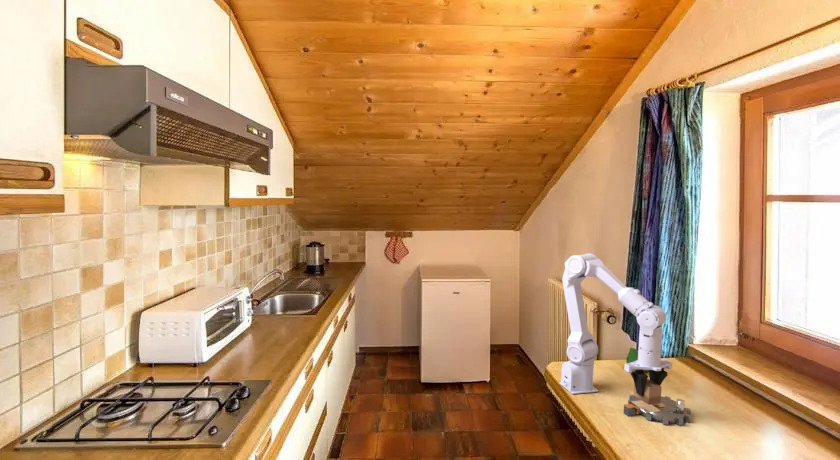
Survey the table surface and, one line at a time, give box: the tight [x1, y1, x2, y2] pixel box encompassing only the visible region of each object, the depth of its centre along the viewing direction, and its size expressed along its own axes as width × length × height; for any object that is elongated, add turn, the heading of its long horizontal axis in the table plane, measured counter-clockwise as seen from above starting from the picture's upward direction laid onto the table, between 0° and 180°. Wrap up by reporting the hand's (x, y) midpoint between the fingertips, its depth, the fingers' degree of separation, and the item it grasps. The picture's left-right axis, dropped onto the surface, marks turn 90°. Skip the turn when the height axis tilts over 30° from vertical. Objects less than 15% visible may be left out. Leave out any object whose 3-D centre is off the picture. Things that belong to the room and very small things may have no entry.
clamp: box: [625, 347, 649, 373], centre depth 157 cm, size 12×6×9 cm
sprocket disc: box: [627, 394, 692, 426], centre depth 125 cm, size 16×16×5 cm
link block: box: [633, 378, 663, 405], centre depth 124 cm, size 6×4×5 cm, turn 13°
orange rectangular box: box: [623, 403, 636, 417], centre depth 123 cm, size 2×2×3 cm
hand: (646, 393), depth 124 cm, fingers closed on link block, 4 cm apart
